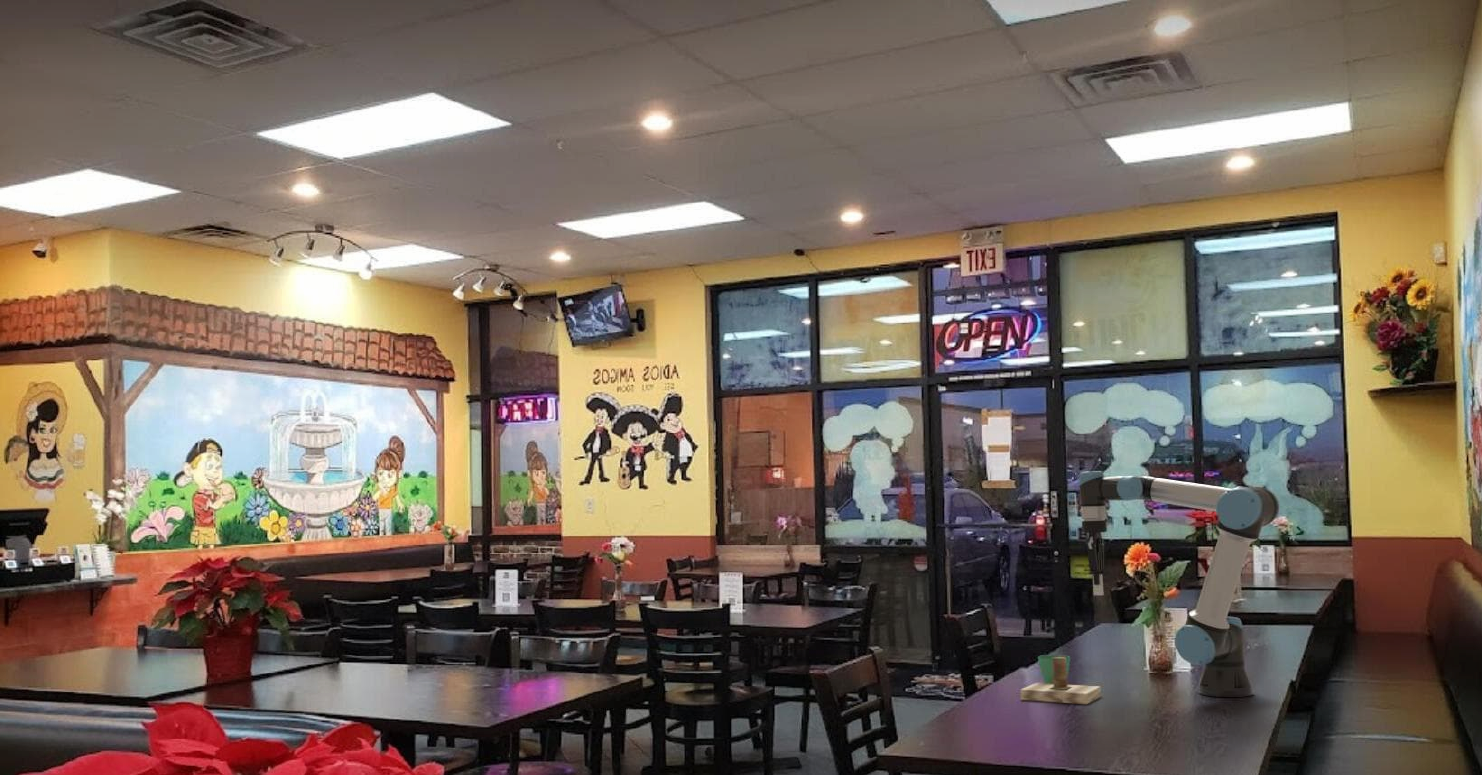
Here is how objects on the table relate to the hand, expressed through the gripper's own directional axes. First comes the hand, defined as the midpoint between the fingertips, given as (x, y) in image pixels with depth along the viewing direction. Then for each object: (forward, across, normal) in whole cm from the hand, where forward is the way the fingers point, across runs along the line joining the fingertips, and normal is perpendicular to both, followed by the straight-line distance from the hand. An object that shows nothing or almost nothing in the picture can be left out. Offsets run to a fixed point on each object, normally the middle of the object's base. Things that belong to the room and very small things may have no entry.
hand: (1098, 594), depth 378 cm
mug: (+29, +2, -14) cm, 33 cm away
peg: (+29, +20, -8) cm, 36 cm away
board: (+29, +20, -8) cm, 36 cm away
